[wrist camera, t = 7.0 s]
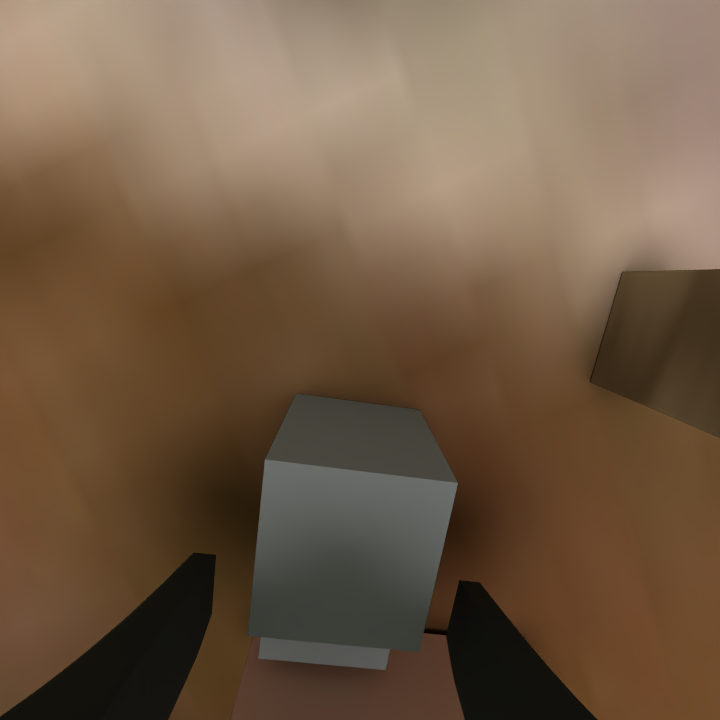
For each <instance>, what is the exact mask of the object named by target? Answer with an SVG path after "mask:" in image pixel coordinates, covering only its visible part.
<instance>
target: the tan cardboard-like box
mask: <svg viewBox="0 0 720 720" xmlns="http://www.w3.org/2000/svg"><path fill="white" fill-rule="evenodd" d="M590 382H591V383H594V384H596V385H598V386H601V387H603V388H605V389H608V390H610V391H612V392H615V393H617V394H619V395H622V396H624V397H626V398H628V399H631V400H633V401H635V402H638V403H640V404H642V405H645V406H647V407H649V408H652V409H654V410H656V411H659V412H661V413H663V414H666V415H668V416H670V417H673V418H675V419H677V420H679V421H682V422H684V423H686V424H689V425H691V426H693V427H696V428H698V429H700V430H703V431H705V432H707V433H710V434H712V435H714V436H717V437H719V438H720V269H712V270H674V271H636V272H623V273H622V276H621V280H620V283H619V286H618V290H617V293H616V297H615V300H614V303H613V307H612V310H611V313H610V317H609V320H608V324H607V327H606V330H605V334H604V337H603V341H602V344H601V347H600V351H599V354H598V358H597V361H596V364H595V368H594V371H593V375H592V378H591V381H590Z"/></svg>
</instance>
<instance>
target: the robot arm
mask: <svg viewBox="0 0 720 720" xmlns="http://www.w3.org/2000/svg"><path fill="white" fill-rule="evenodd" d="M215 560H216V555H211V554H201V553H193V554H192V555H191V556H190V557H189V558H188V559H187V560H186V561H185V562H184V563H183V564H182V565H181V566H180V567H179V568H178V569H177V570H176V571H175V572H174V573H173V574H172V575H171V576H170V577H169V578H168V579H167V580H166V581H165V582H164V583H163V584H162V585H160V586H159V587H158V588H157V589H156V590H155V591H154V592H153V593H152V594H151V595H150V596H149V597H148V598H147V599H146V600H145V601H144V602H142V603H141V604H140V605H139V606H138V607H137V608H136V609H135V610H134V611H133V612H132V613H131V614H130V615H128V616H127V617H126V618H125V619H124V620H123V621H122V622H121V623H119V624H118V625H117V626H116V627H115V628H114V629H112V630H111V631H110V632H109V633H108V634H107V635H105V636H104V637H103V638H102V639H101V640H100V641H98V642H97V643H96V644H95V645H94V646H93V647H91V648H90V649H89V650H88V651H87V652H85V653H84V654H83V655H82V656H80V657H79V658H78V659H77V660H76V661H74V662H73V663H72V664H71V665H69V666H68V667H67V668H65V669H64V670H63V671H62V672H60V673H59V674H58V675H56V676H55V677H54V678H53V679H51V680H50V681H49V682H47V683H46V684H45V685H43V686H42V687H41V688H39V689H38V690H37V691H35V692H34V693H33V694H31V695H30V696H28V697H27V698H26V699H24V700H23V701H21V702H20V703H19V704H17V705H16V706H14V707H13V708H12V709H10V710H9V711H8V712H6V713H5V714H3V715H2V716H1V717H0V720H168V719H169V717H170V714H171V712H172V710H173V708H174V706H175V703H176V701H177V699H178V697H179V695H180V692H181V690H182V688H183V686H184V684H185V681H186V679H187V677H188V675H189V673H190V670H191V668H192V666H193V664H194V661H195V659H196V657H197V654H198V652H199V649H200V646H201V643H202V640H203V638H204V635H205V632H206V629H207V626H208V623H209V620H210V617H211V614H212V602H213V588H214V574H215ZM446 638H447V644H448V650H449V656H450V662H451V667H452V673H453V678H454V682H455V686H456V690H457V693H458V697H459V700H460V704H461V708H462V711H463V715H464V719H465V720H597V719H596V718H595V717H594V716H593V715H592V714H591V713H590V712H589V711H588V710H587V709H586V708H585V706H584V705H583V704H582V703H581V702H580V701H579V700H578V699H577V698H576V697H575V696H574V695H573V694H572V693H571V691H570V690H569V689H568V688H567V687H566V686H565V685H564V684H563V683H562V682H561V680H560V679H559V678H558V677H557V676H556V675H555V674H554V673H553V672H552V670H551V669H550V668H549V667H548V666H547V665H546V664H545V662H544V661H543V660H542V659H541V658H540V657H539V655H538V654H537V653H536V652H535V651H534V649H533V648H532V647H531V646H530V645H529V643H528V642H527V641H526V640H525V639H524V637H523V636H522V635H521V634H520V633H519V631H518V630H517V629H516V628H515V626H514V625H513V624H512V623H511V621H510V620H509V619H508V618H507V616H506V615H505V614H504V613H503V611H502V610H501V609H500V608H499V606H498V605H497V604H496V603H495V601H494V600H493V599H492V597H491V596H490V595H489V594H488V592H487V591H486V590H485V589H484V587H483V586H482V585H481V584H480V583H479V582H471V581H461V580H459V585H458V589H457V593H456V597H455V601H454V605H453V609H452V614H451V618H450V622H449V626H448V630H447V634H446Z"/></svg>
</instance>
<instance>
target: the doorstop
mask: <svg viewBox="0 0 720 720" xmlns="http://www.w3.org/2000/svg"><path fill="white" fill-rule="evenodd" d="M457 485H458V482H457V480H456V478H455V476H454V474H453V472H452V471H451V469H450V467H449V465H448V463H447V461H446V459H445V457H444V455H443V453H442V452H441V450H440V448H439V446H438V444H437V442H436V440H435V438H434V436H433V434H432V432H431V431H430V429H429V427H428V425H427V423H426V421H425V419H424V417H423V415H422V413H421V411H420V410H417V409H409V408H402V407H394V406H387V405H379V404H372V403H364V402H357V401H349V400H342V399H334V398H327V397H319V396H312V395H304V394H297V393H296V395H295V397H294V399H293V402H292V404H291V406H290V408H289V410H288V412H287V414H286V416H285V418H284V421H283V423H282V425H281V427H280V429H279V431H278V433H277V435H276V437H275V440H274V442H273V444H272V446H271V448H270V450H269V452H268V454H267V456H266V459H265V465H264V475H263V485H262V495H261V505H260V515H259V525H258V535H257V545H256V555H255V565H254V575H253V585H252V595H251V605H250V615H249V626H248V636H253V637H261V639H260V648H259V657H258V659H269V660H280V661H291V662H302V663H313V664H324V665H335V666H346V667H357V668H368V669H379V670H386V666H387V661H388V656H389V651H390V649H391V650H402V651H412V652H419V651H420V646H421V642H422V638H423V633H424V629H425V624H426V620H427V616H428V611H429V607H430V603H431V598H432V594H433V590H434V585H435V581H436V577H437V572H438V568H439V564H440V559H441V555H442V551H443V546H444V542H445V538H446V533H447V529H448V524H449V520H450V516H451V511H452V507H453V503H454V498H455V494H456V490H457Z"/></svg>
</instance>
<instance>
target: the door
mask: <svg viewBox="0 0 720 720" xmlns="http://www.w3.org/2000/svg"><path fill="white" fill-rule="evenodd" d="M260 639H261V637H253V639H252V642H251V646H250V650H249V653H248V657H247V660H246V664H245V668H244V671H243V675H242V679H241V682H240V686H239V690H238V693H237V697H236V700H235V704H234V708H233V711H232V715H231V719H230V720H465V719H464V715H463V711H462V708H461V704H460V700H459V697H458V693H457V690H456V686H455V682H454V678H453V673H452V667H451V662H450V656H449V650H448V644H447V638H446V635H437V634H427V633H423V638H422V642H421V646H420V651H419V652H412V651H402V650H391V649H390V651H389V656H388V661H387V666H386V670H379V669H368V668H357V667H346V666H335V665H324V664H313V663H302V662H291V661H280V660H269V659H258V657H259V648H260Z"/></svg>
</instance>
